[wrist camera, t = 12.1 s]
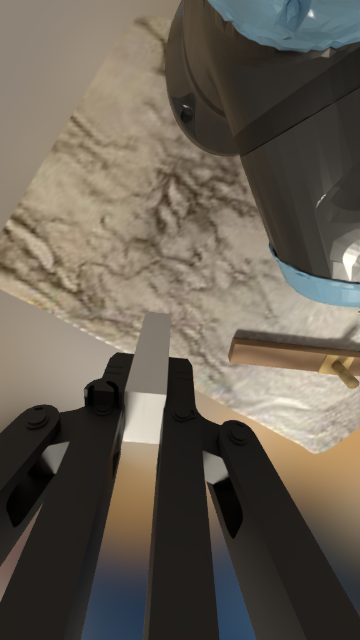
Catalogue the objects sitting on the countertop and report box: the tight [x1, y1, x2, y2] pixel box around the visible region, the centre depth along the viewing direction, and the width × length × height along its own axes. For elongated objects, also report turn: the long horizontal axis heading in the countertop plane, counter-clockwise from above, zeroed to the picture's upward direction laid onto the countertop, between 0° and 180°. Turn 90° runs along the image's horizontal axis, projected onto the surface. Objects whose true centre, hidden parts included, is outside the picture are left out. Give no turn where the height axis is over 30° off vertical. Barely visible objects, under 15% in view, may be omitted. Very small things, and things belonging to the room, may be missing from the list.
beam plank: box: [228, 338, 360, 389], centre depth 43 cm, size 4×30×7 cm, turn 82°
